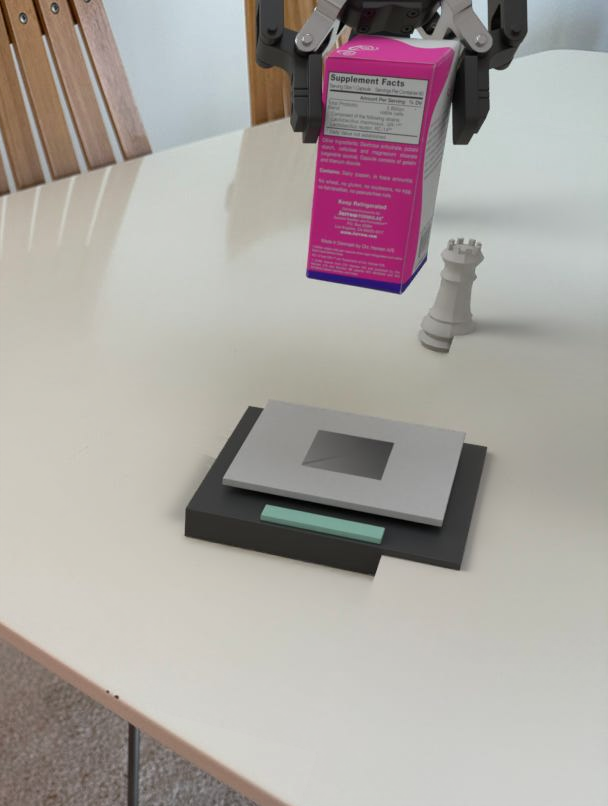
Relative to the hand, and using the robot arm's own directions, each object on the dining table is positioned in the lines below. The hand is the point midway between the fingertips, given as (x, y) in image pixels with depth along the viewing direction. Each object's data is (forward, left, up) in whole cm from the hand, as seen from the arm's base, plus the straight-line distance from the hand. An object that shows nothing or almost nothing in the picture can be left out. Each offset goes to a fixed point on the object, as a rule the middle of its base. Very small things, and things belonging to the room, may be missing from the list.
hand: (389, 135), depth 54 cm
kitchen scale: (-1, +2, -21) cm, 21 cm away
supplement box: (0, -1, -8) cm, 8 cm away
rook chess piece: (-4, -25, -21) cm, 33 cm away
